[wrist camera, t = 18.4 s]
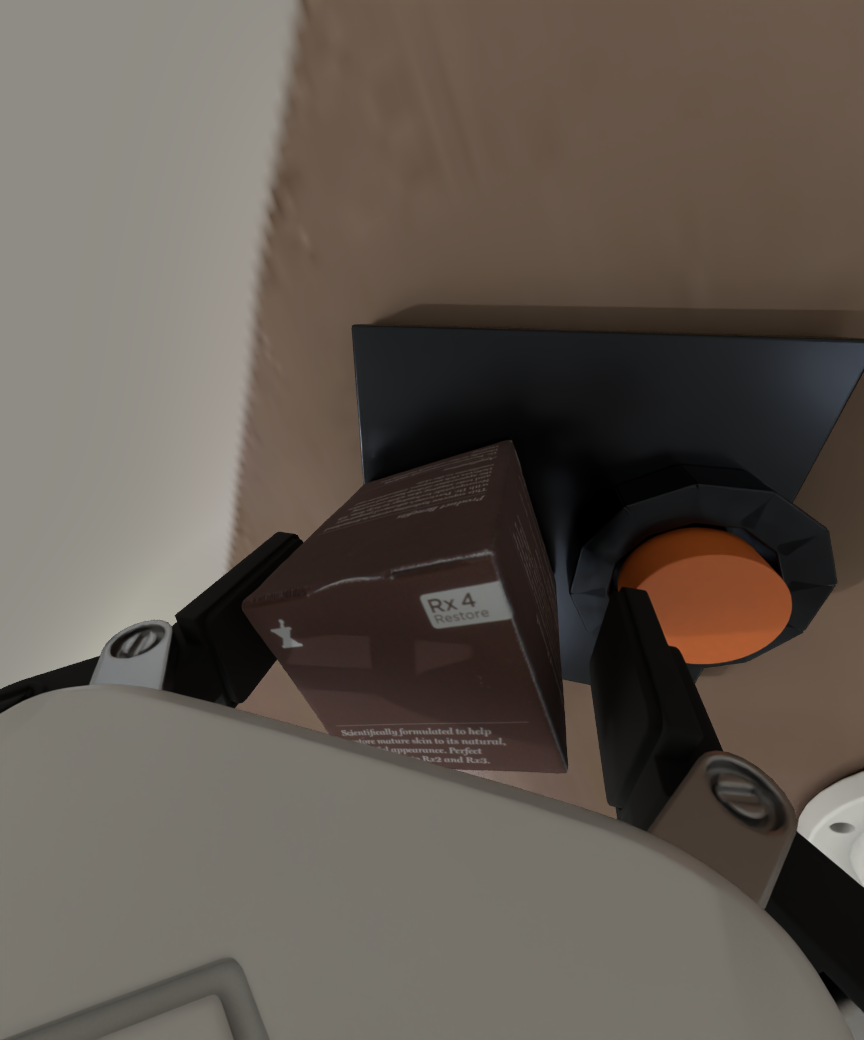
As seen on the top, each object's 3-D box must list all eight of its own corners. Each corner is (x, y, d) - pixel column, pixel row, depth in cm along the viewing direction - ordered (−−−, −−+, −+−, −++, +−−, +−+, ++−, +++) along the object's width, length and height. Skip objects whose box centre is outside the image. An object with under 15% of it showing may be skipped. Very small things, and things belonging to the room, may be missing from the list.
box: (418, 601, 17) (347, 770, 10) (362, 480, 14) (228, 602, 8) (558, 580, 14) (574, 781, 8) (517, 433, 12) (496, 554, 6)
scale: (885, 338, 10) (1002, 345, 8) (697, 683, 17) (725, 748, 14) (367, 323, 13) (326, 325, 11) (384, 620, 20) (361, 665, 17)
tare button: (788, 536, 11) (824, 567, 9) (731, 639, 12) (754, 677, 11) (636, 518, 11) (648, 544, 10) (604, 616, 13) (611, 649, 12)
